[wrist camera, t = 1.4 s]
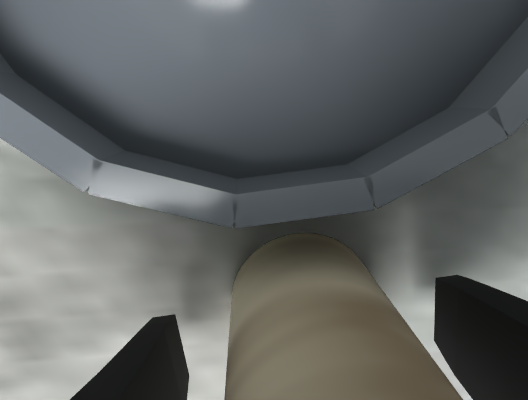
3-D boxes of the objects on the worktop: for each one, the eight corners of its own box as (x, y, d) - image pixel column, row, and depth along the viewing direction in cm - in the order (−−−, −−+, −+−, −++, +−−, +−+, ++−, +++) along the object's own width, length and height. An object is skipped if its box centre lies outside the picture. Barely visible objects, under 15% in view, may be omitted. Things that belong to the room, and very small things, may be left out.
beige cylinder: (398, 284, 11) (573, 492, 5) (309, 377, 12) (373, 648, 6) (291, 204, 10) (356, 348, 4) (203, 311, 11) (154, 556, 5)
